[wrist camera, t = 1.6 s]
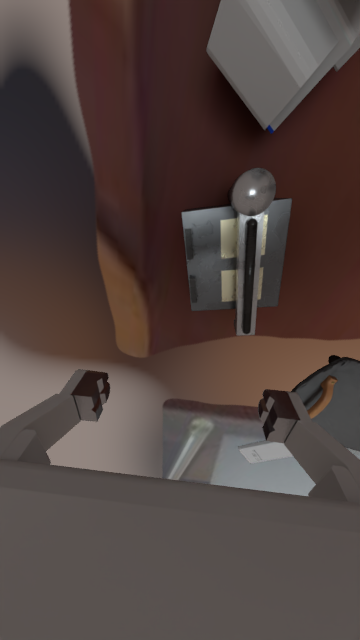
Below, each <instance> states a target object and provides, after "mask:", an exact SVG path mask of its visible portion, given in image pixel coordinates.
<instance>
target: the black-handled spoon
mask: <svg viewBox="0 0 360 640" xmlns="http://www.w3.org/2000/svg"><path fill="white" fill-rule="evenodd" d="M275 192H276V184H275V180H274V178H273V176H272V174H271V173H270V172H269V171H267V170H265V169H262V168H254V169H251V170H249V171H247V172H245V173H243V174H242V175H240V176H239V177H238V178H237V179H236V180H235V182H234V183H233V185H232V188H231V191H230V201H231V204H232V206H233V208H234V209H235V210H236V211H237V212H238V217H237V266H236V314H235V320H234V327H235V332H236V335H255V323H256V310H257V297H258V284H259V272H260V259H261V246H262V233H263V220H264V211H265V210H266V209H267V208H268V207H269V206H270V205H271V203H272V201H273V199H274V196H275Z"/></svg>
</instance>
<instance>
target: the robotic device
mask: <svg viewBox="0 0 360 640" xmlns="http://www.w3.org/2000/svg"><path fill="white" fill-rule="evenodd" d="M359 48H360V0H221V2H220V5H219V9H218V12H217V16H216V19H215V22H214V26H213V29H212V32H211V36H210V39H209V42H208V46H207V53H208V55H209V56H210V58H211V59H212V60H213V62H214V63H215V64H216V66H217V67H218V68H219V70H220V71H221V72H222V74H223V75H224V76H225V78H226V79H227V80H228V82H229V83H230V84H231V86H232V87H233V89H234V90H235V91H236V93H237V94H238V95H239V97H240V98H241V99H242V101H243V102H244V103H245V105H246V106H247V107H248V109H249V110H250V111H251V113H252V114H253V115H254V117H255V118H256V120H257V121H258V122H259V124H260V125H261V126H262V128H263V129H264V130H265V129H266V128H267V129H268V130H269V132H270V133H271V134H272V133H273V132H274V131H275V129H276V128H277V127H278V126H279V125H280V124H281V123H282V122H283V121H284V120H285V118H286V117H287V116H288V115H289V114H290V113H291V112H292V111H293V110H294V108H295V107H296V106H297V105H298V104H299V103H300V102H301V101H302V100H303V99H304V97H305V96H306V95H307V94H308V93H309V92H310V91H311V90H312V89H313V88H314V86H315V85H316V84H317V83H318V82H319V81H320V80H321V79H322V78H323V77H324V75H325V74H326V73H327V72H328V71H329V70H330V69H331V68H332V67H334V69H335V70H336V72H337V71H338V70H339V69H340V68H341V67H342V66H343V65H344V64H345V63H346V62H347V60H348V59H349V58H350V57H351V56H352V55H353V54H354V53H355V52H356V51H357V50H358V49H359Z"/></svg>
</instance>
